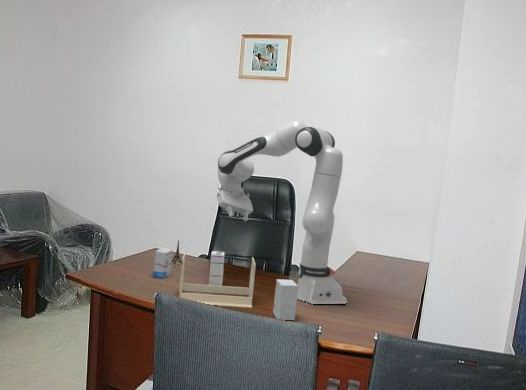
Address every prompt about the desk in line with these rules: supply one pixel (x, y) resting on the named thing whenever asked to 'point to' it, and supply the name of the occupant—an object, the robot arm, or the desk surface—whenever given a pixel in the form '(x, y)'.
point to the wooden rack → (218, 291)
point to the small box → (285, 299)
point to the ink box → (162, 262)
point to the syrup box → (216, 268)
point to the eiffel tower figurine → (177, 256)
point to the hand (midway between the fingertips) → (239, 218)
